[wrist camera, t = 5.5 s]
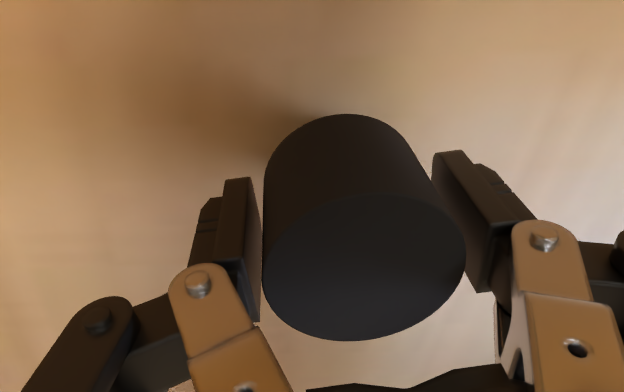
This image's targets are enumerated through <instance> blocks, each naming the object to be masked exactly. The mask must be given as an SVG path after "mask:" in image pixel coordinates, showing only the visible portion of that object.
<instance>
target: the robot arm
mask: <svg viewBox="0 0 624 392" xmlns="http://www.w3.org/2000/svg"><path fill="white" fill-rule="evenodd" d="M431 182H432V184H433V185H434V187H435V189H436V190H437V192H438V193H439V195H440V197H441V198H442V200H443V202H444V203H445V205H446V207H447V208H448V210H449V211H450V213H451V215H452V216H453V218H454V220H455V221H456V223H457V225H458V226H459V228H460V230H461V232H462V234H463V237H464V240H465V244H466V265H465V269H464V271H465V273H466V275H467V277H468V279H469V280H470V282H471V284H472V286H473V288H474V289H475V291H476V293H482V292H490V291H492V292H493V294H494V296H495V297H496V298H495V302H494V308H493V315H494V346H495V364H490V365H482V366H475V367H468V368H460V369H453V370H451V371H449V372H446V373H444V374H442V375H439V376H437V377H435V378H432V379H430V380H428V381H425V382H423V383H421V384H418V385H416V386H414V387H411V388H406V389H402V388H393V387H384V386H375V385H367V384H358V383H351V384H344V385H336V386H329V387H322V388H315V389H307V390H306V392H624V231H622V232H621V233H620V234H619V235H618V237H617V239H616V241H615V243H614V244H603V243H591V242H581V241H577V239H576V238H575V236H574V235H573V234H572V233H571V232H570V231H568V230H567V229H566V228H564V227H562V226H560V225H558V224H555V223H552V222H549V221H544V220H537V218H536V217H535V216H534V215H533V214H532V213H531V212H530V210H529V209H528V208H527V207H526V206H525V205H524V204H523V203H522V201H521V200H520V199H519V198H518V197H517V196H516V195H515V194H514V192H513V193H512V190H511V189H510V188H509V187H508V186H507V184H504V181H503V180H502V179H501V178H500V177H499V175H498V174H497V173H496V172H495V171H493V170H491V169H490V168H488V167H486V166H484V165H482V164H473V163H472V162H471V160H470V159H469V158H468V157H467V156H466V154H465V153H464V152H463V151H462V150H454V151H446V152H439V153H435V154H434V157H433V164H432V176H431ZM261 256H262V229H261V221H260V216H259V211H258V206H257V202H256V197H255V193H254V188H253V184H252V180H251V177H242V178H235V179H227V180H225V184H224V190H223V196H222V197H215V198H210V199H209V200H208V201H207V203H206V204H205V205H204V206H203V207H202V209H201V211H200V215H199V219H198V224H197V228H196V234H195V236H194V241H193V245H192V249H191V253H190V257H189V262H188V266H187V268H186V269H185V270H183V271H181V272H180V273H179V274H178V275H177V276H176V277H175V278H174V279H173V280H172V282H171V284H170V285H169V289H168V292H167V293H166V294H164V295H162V296H160V297H157V298H155V299H152V300H150V301H147V302H145V303H142V304H139V305H137V306H134V307H132V305H131V304H130V302H129V301H128V300H127V299H125V298H123V297H118V296H111V297H105V298H101V299H98V300H96V301H94V302H92V303H90V304H88V305H86V306H85V307H83V308H82V309H81V310H80V311H78V312H77V313H76V314H75V315H74V316H73V318H72V319H71V320H70V322H69V323H68V324H67V326H66V327H65V329H64V330H63V332H62V333H61V335H60V336H59V337H58V339H57V340H56V342H55V343H54V345H53V346H52V347H51V349H50V350H49V352H48V353H47V355H46V356H45V357H44V359H43V360H42V362H41V363H40V365H39V366H38V367H37V369H36V370H35V372H34V373H33V375H32V376H31V378H30V379H29V380H28V382H27V383H26V385H25V386H24V388H23V389H22V390H21V392H168V389H169V388H171V387H173V386H176V385H178V384H180V383H182V382H184V381H187V380H189V379H192V382H193V385H194V389H195V392H293V390H292V388H291V386H290V384H289V382H288V380H287V378H286V377H285V375H284V373H283V371H282V369H281V367H280V365H279V363H278V361H277V359H276V358H275V356H274V354H273V352H272V350H271V348H270V346H269V344H268V342H267V340H266V339H265V337H264V335H263V333H262V331H261V330H260V328H259V327H258V326H254V324H253V323H254V322H260V296H261Z"/></svg>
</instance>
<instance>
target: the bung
mask: <svg viewBox="0 0 624 392" xmlns="http://www.w3.org/2000/svg"><path fill="white" fill-rule="evenodd" d="M465 265H466V244H465V240H464V237H463V234H462V232H461V230H460V228H459V226H458V225H457V223H456V221H455V220H454V218H453V216H452V215H451V213H450V211H449V210H448V208H447V207H446V205H445V203H444V202H443V200H442V198H441V197H440V195H439V193H438V192H437V190H436V189H435V187H434V185H433V184H432V182H431V180H430V179H429V177H428V175H427V174H426V172H425V171H424V169H423V167H422V166H421V164H420V162H419V161H418V159H417V157H416V156H415V154H414V153H413V151H412V149H411V148H410V146H409V144H408V143H407V142H406V140H405V139H404V138H403V136H402V135H400V134H399V133H398V132H397V131H396V130H395V129H394V128H392V127H391V126H389V125H388V124H386V123H384V122H382V121H380V120H377V119H374V118H371V117H368V116H363V115H357V114H338V115H331V116H326V117H322V118H319V119H316V120H313V121H311V122H309V123H307V124H305V125H303V126H301V127H300V128H298V129H296V130H295V131H293V132H292V133H291V134H290V135H288V136H287V137H286V138H285V139H284V140H283V141H282V142H281V143H280V144H279V146H278V147H277V148H276V150H275V151H274V152H273V154H272V156H271V158H270V160H269V162H268V165H267V167H266V170H265V175H264V187H263V231H262V275H261V281H262V288H263V292H264V295H265V298H266V300H267V302H268V303H269V305H270V307H271V309H272V310H273V311H274V312H275V314H276V315H277V316H278V317H279V318H280V319H281V320H283V321H284V322H285V323H286V324H288V325H289V326H291V327H292V328H294V329H296V330H298V331H300V332H302V333H305V334H307V335H310V336H313V337H317V338H321V339H327V340H333V341H362V340H370V339H376V338H381V337H384V336H388V335H392V334H394V333H397V332H400V331H403V330H405V329H407V328H409V327H412V326H414V325H415V324H417V323H419V322H421V321H423V320H424V319H426V318H427V317H429V316H430V315H431V314H433V313H434V312H435V311H436V310H438V309H439V308H440V307H441V306H442V305H443V304H444V303H445V302H446V301H447V300H448V299H449V297H450V296H451V295H452V294H453V292H454V291H455V289H456V288H457V286H458V284H459V283H460V280H461V278H462V276H463V273H464V269H465Z"/></svg>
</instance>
